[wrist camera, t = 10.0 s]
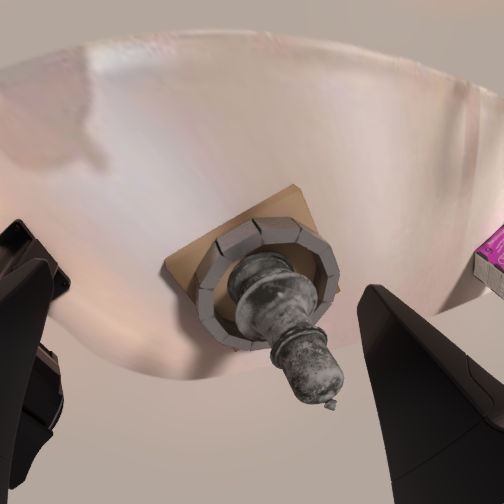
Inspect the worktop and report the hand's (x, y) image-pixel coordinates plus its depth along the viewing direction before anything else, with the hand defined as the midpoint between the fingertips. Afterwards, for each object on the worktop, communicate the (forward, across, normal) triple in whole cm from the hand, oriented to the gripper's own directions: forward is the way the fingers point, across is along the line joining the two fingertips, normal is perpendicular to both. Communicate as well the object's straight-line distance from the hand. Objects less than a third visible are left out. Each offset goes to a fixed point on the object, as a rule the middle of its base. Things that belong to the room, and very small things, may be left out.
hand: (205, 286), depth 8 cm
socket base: (+13, -4, +10) cm, 17 cm away
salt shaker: (+12, -4, +10) cm, 16 cm away
